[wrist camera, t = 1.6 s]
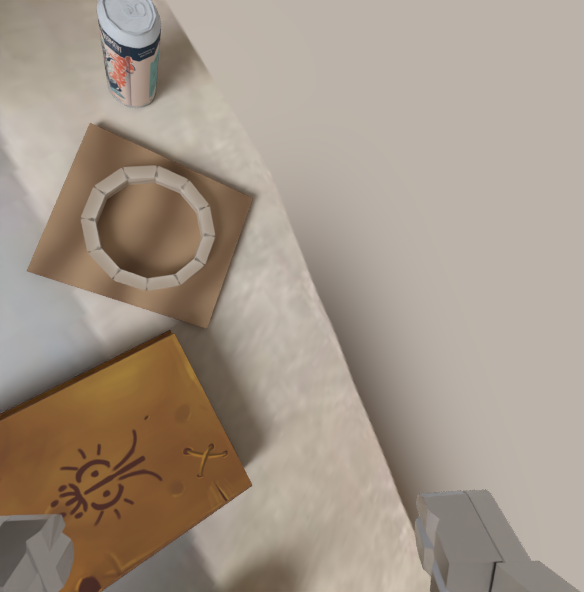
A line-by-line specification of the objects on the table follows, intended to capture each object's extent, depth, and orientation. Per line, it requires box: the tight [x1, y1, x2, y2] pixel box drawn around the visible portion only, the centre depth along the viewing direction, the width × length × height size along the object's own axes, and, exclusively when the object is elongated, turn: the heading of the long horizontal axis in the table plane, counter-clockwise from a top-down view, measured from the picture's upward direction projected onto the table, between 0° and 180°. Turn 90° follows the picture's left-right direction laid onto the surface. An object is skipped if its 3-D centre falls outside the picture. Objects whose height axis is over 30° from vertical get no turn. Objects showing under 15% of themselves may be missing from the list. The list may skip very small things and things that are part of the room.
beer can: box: [97, 0, 161, 108], centre depth 36 cm, size 5×5×12 cm
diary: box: [0, 330, 252, 592], centre depth 38 cm, size 23×19×6 cm
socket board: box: [27, 123, 253, 329], centre depth 40 cm, size 18×16×3 cm
